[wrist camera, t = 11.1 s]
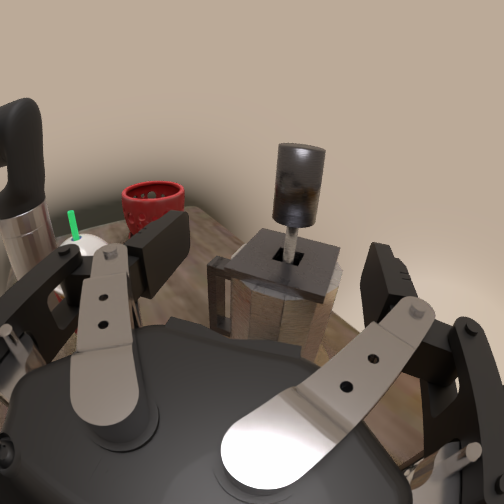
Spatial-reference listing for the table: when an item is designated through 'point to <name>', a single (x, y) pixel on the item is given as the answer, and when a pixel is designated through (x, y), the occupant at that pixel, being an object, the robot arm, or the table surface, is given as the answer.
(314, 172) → the plunger
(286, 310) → the press carafe
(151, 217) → the plant pot
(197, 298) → the table surface
